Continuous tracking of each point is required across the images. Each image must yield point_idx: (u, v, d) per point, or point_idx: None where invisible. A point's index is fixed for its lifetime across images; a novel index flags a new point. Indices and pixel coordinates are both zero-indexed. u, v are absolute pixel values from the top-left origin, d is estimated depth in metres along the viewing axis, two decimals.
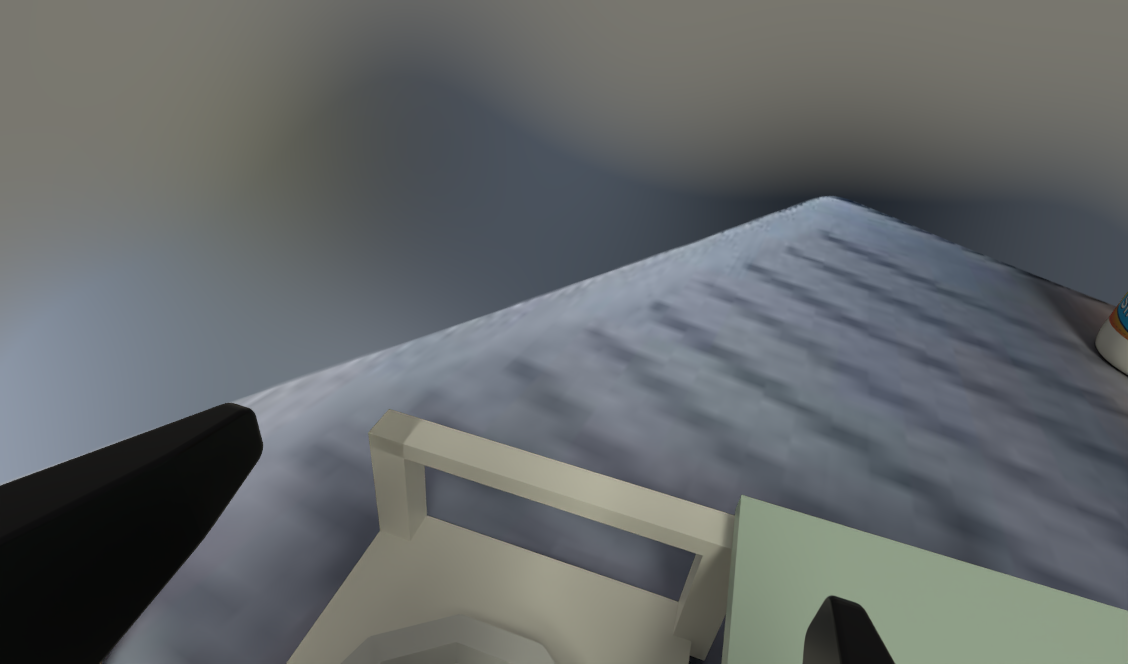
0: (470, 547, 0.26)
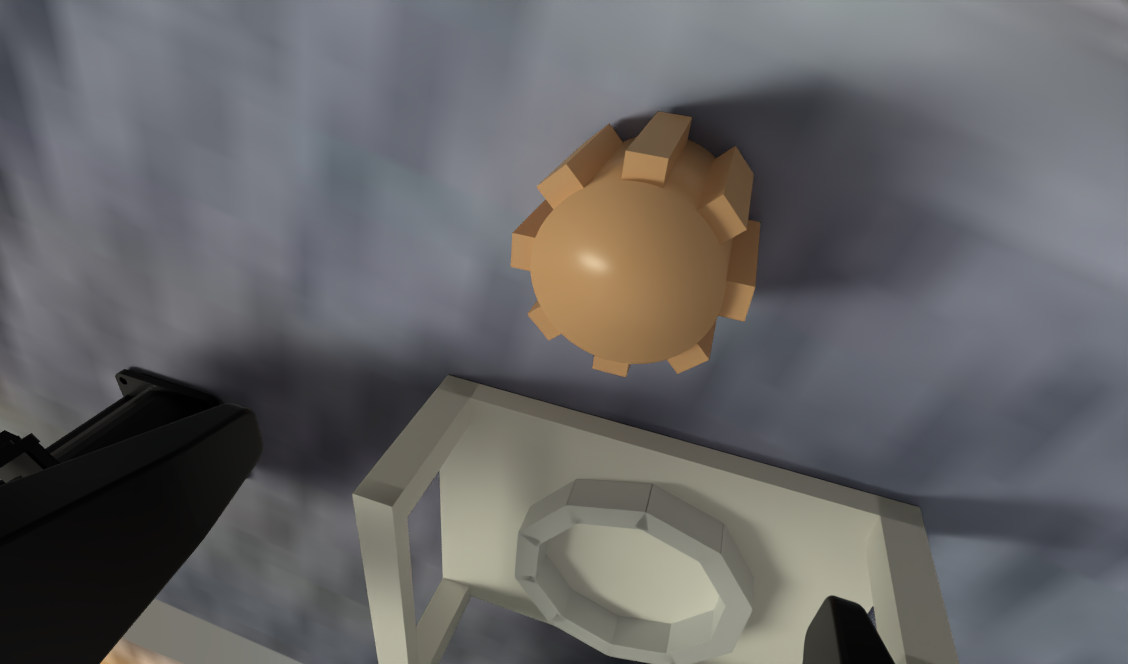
0: (858, 588, 0.23)
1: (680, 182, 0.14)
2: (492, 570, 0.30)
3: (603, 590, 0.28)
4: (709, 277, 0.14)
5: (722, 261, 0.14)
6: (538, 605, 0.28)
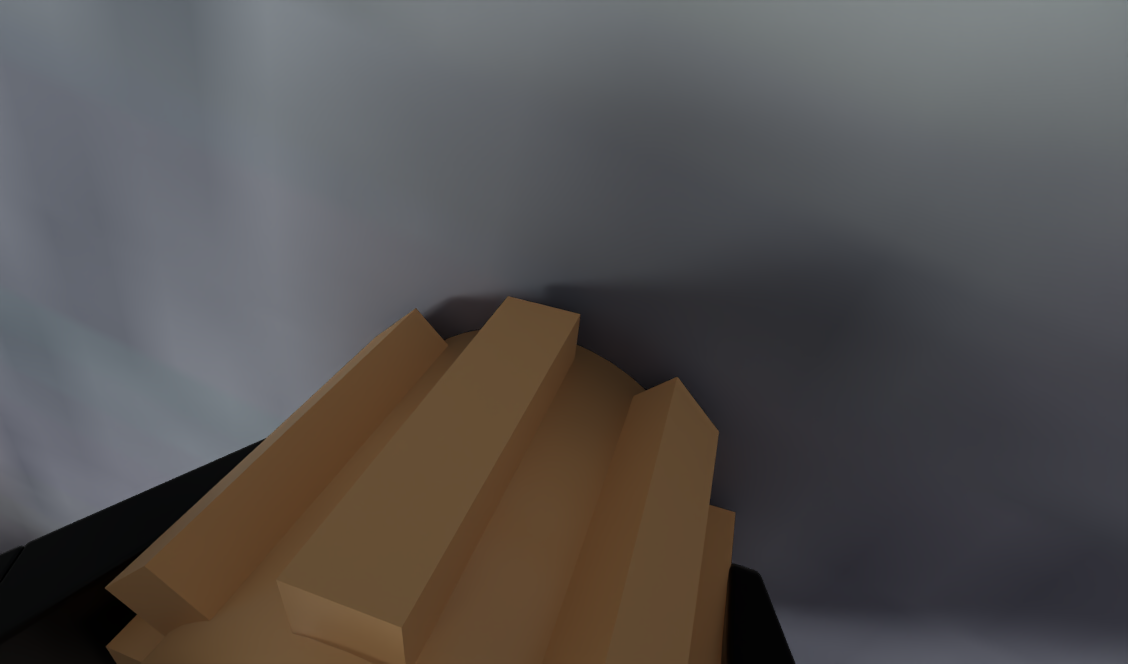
0: None
1: (493, 589, 0.05)
2: None
3: None
4: None
5: None
6: None
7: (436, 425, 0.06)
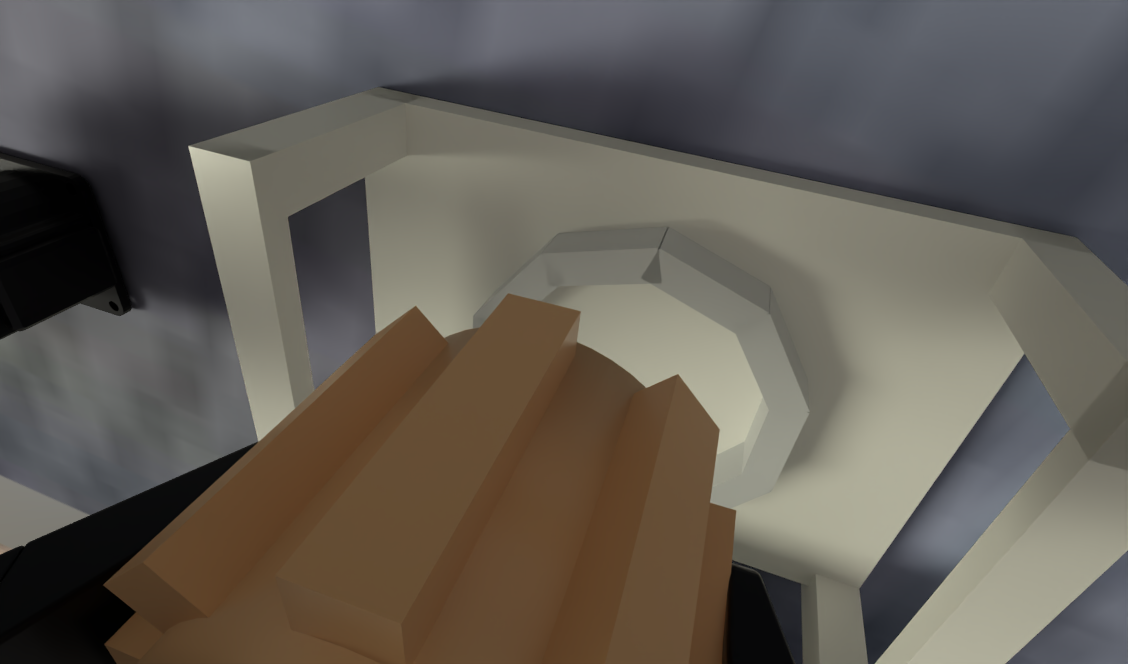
0: (965, 382, 0.16)
1: (493, 586, 0.05)
2: None
3: None
4: None
5: None
6: None
7: (436, 422, 0.06)
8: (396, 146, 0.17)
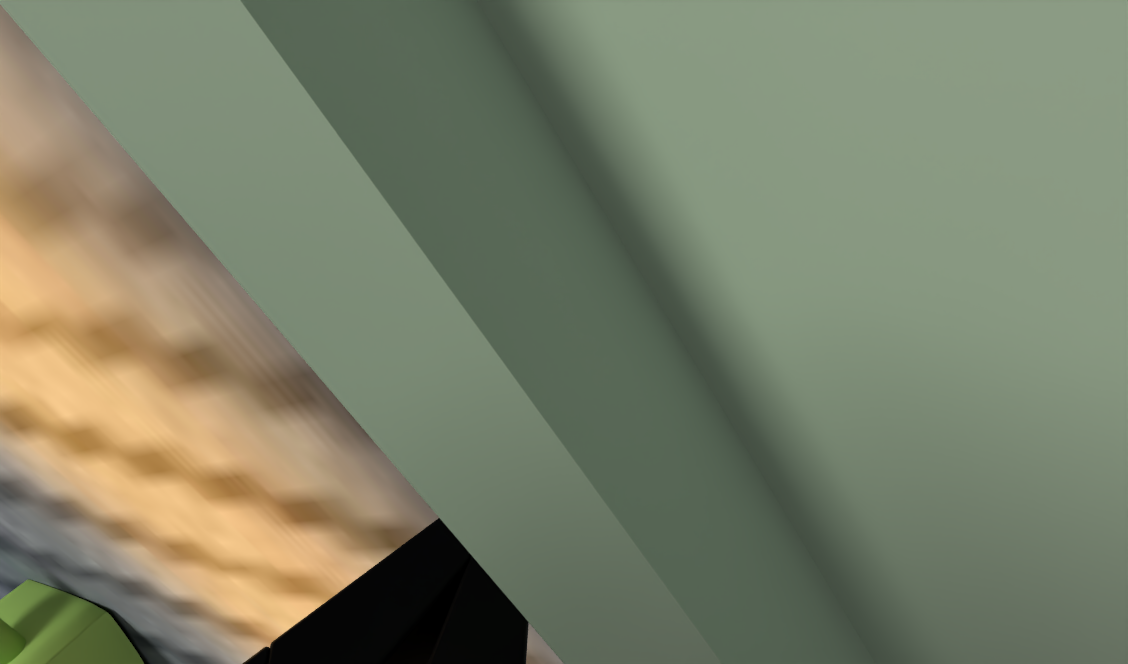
0: None
1: None
2: None
3: None
4: None
5: None
6: None
7: None
8: None
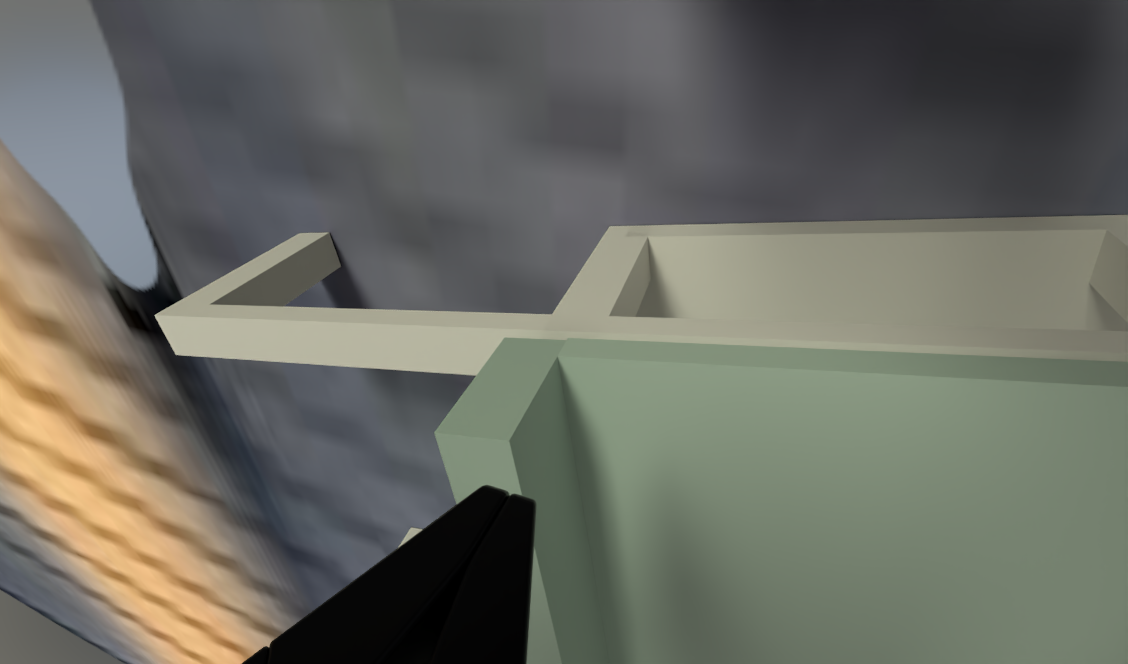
0: None
1: None
2: (718, 315, 0.19)
3: None
4: None
5: None
6: None
7: None
8: None
